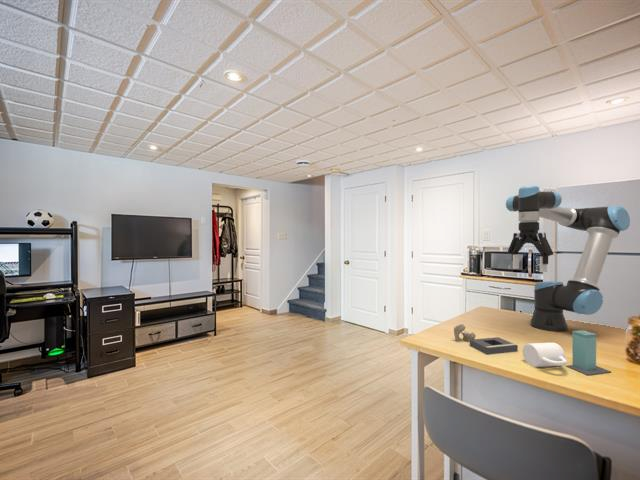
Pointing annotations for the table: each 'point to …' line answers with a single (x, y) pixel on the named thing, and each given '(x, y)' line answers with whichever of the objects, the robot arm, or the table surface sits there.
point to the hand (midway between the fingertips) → (529, 270)
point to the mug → (544, 354)
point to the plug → (584, 349)
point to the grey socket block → (493, 345)
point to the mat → (589, 372)
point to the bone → (463, 333)
